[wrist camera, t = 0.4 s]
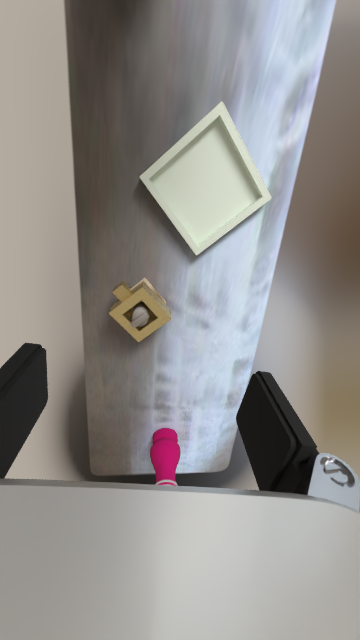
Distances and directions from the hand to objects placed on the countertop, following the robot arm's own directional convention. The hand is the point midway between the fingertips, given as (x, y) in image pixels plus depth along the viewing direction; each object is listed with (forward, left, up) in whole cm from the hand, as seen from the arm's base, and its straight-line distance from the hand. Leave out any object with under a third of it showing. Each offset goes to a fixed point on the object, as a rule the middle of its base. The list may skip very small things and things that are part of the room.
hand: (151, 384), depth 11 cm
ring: (+6, -9, -30) cm, 32 cm away
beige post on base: (+6, -9, -34) cm, 36 cm away
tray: (-2, +11, -34) cm, 36 cm away
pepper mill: (+38, -29, -34) cm, 59 cm away
